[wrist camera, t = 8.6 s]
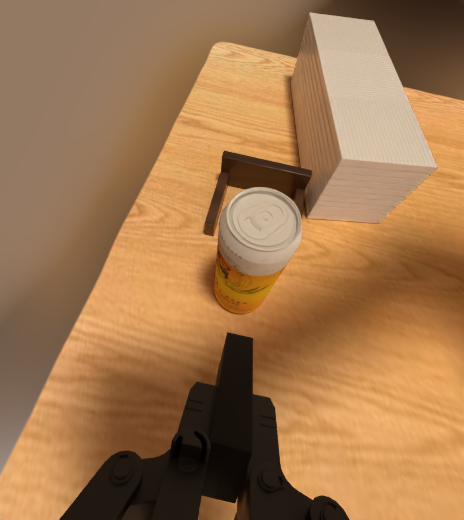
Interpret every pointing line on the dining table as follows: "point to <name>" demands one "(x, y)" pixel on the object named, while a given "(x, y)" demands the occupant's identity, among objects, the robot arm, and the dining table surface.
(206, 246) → the dining table surface
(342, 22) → the stack of papers
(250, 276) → the beer can
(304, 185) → the brown wooden u-shaped frame
